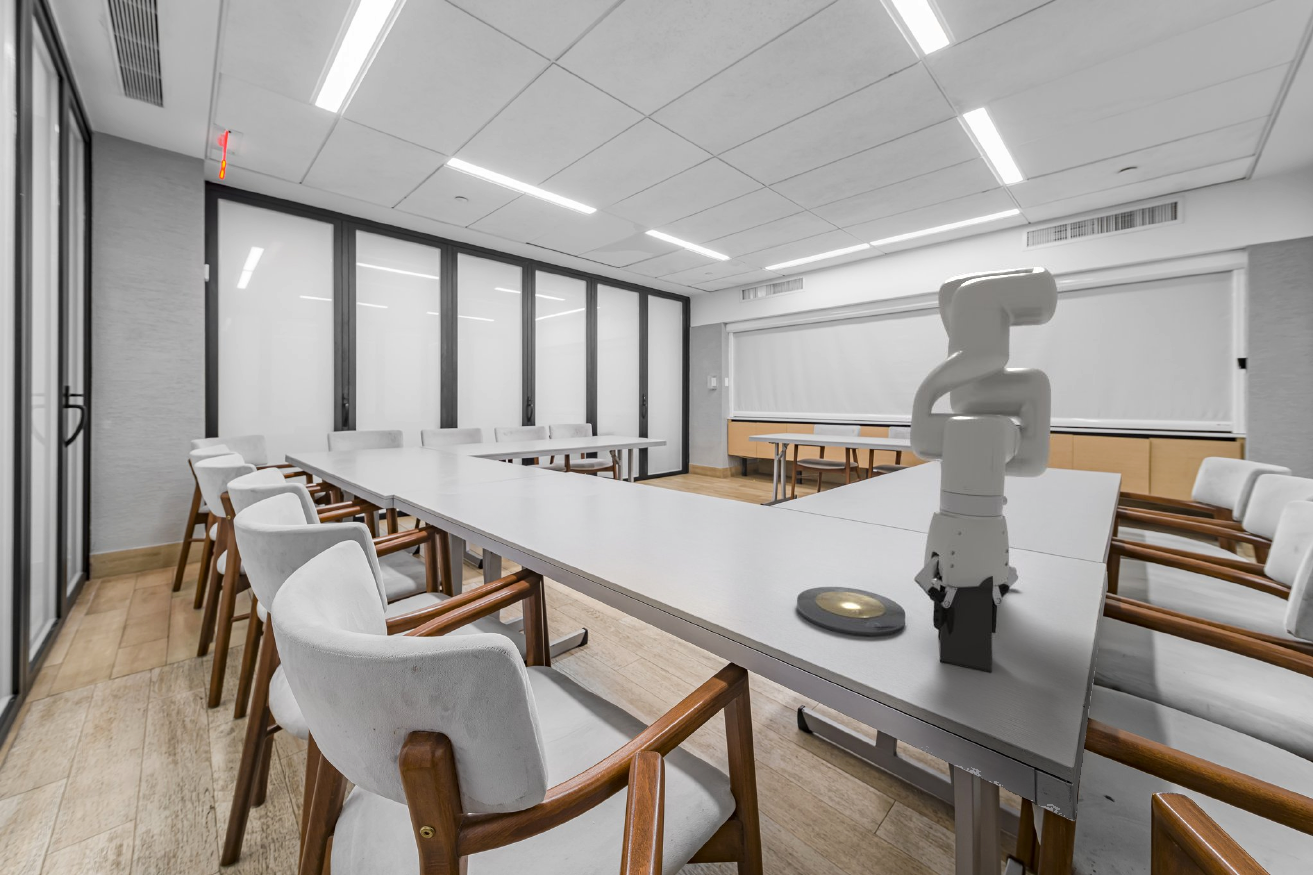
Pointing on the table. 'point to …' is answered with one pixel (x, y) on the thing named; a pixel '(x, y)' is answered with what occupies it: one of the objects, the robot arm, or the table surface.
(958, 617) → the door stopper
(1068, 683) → the table surface
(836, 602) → the rosette plate
